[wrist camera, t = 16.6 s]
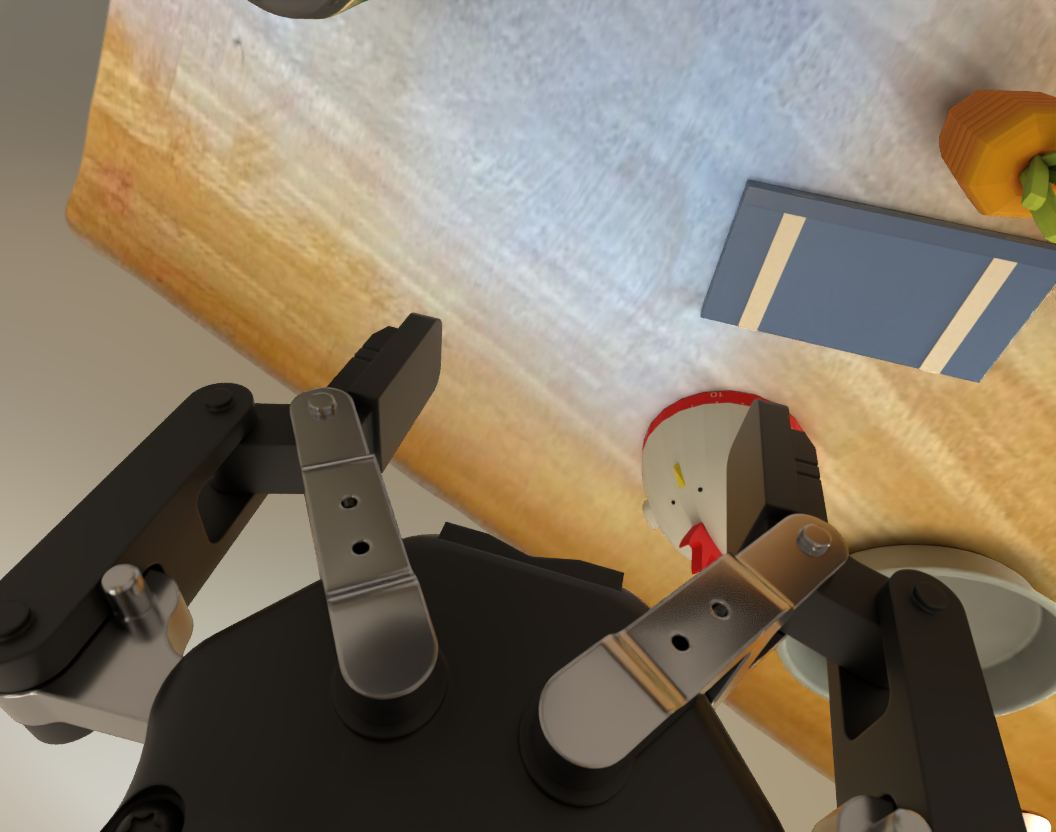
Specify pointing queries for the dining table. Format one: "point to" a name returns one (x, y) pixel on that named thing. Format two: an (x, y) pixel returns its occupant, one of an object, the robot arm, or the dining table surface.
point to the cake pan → (993, 615)
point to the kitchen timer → (693, 471)
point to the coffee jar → (306, 7)
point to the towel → (877, 281)
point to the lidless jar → (1036, 823)
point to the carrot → (1005, 154)
